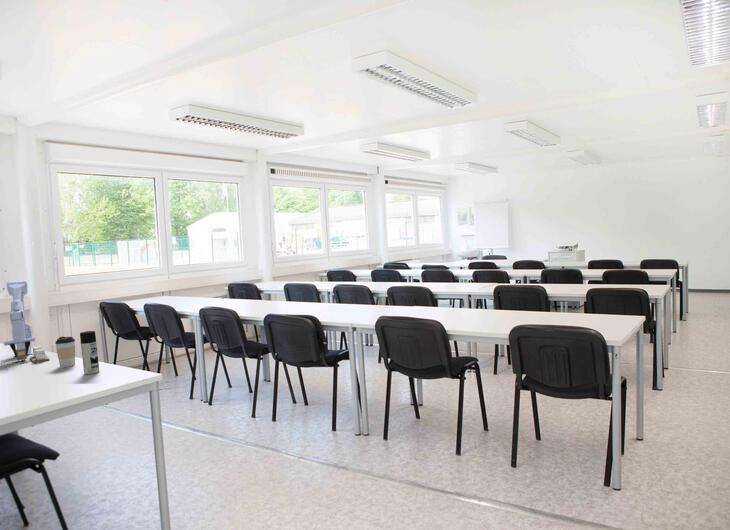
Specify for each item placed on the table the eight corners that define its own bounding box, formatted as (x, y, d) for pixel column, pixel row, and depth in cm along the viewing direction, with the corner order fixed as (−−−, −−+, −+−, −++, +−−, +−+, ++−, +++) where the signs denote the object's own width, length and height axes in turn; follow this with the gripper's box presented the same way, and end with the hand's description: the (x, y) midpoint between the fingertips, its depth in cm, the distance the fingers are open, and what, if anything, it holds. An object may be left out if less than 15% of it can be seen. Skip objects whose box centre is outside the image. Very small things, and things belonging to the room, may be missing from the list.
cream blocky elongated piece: (30, 358, 302) (29, 347, 302) (45, 356, 307) (44, 345, 306) (33, 363, 289) (32, 351, 288) (49, 360, 293) (48, 349, 293)
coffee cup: (81, 364, 278) (78, 335, 277) (63, 368, 270) (60, 339, 269) (71, 363, 282) (68, 335, 281) (54, 367, 275) (51, 338, 274)
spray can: (93, 374, 252) (88, 333, 251) (80, 374, 253) (76, 333, 252) (102, 371, 258) (98, 330, 257) (90, 371, 260) (86, 330, 259)
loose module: (16, 359, 298) (15, 349, 298) (25, 357, 301) (24, 348, 301) (17, 360, 294) (16, 350, 294) (26, 359, 297) (25, 349, 297)
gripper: (3, 335, 289) (6, 359, 290) (34, 330, 298) (37, 354, 299) (2, 333, 295) (5, 357, 296) (33, 329, 304) (35, 352, 304)
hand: (21, 356), depth 298 cm, fingers closed on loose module, 4 cm apart
